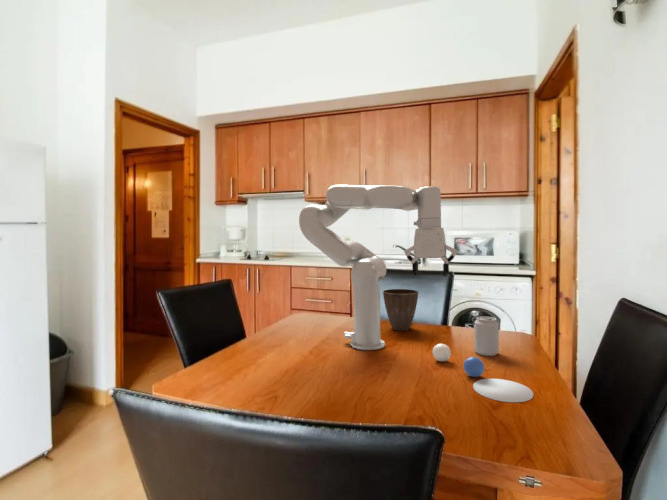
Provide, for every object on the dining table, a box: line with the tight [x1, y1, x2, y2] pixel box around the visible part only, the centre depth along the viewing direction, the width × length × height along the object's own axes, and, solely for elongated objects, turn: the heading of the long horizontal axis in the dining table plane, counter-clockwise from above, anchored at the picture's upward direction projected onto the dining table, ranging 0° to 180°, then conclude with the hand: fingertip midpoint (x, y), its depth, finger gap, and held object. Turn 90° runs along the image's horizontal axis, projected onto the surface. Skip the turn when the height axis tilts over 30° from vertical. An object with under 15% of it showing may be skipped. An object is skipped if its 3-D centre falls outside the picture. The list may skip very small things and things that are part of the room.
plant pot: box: [382, 288, 419, 331], centre depth 158 cm, size 15×15×16 cm
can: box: [474, 315, 500, 357], centre depth 124 cm, size 8×8×12 cm
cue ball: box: [432, 343, 451, 363], centre depth 117 cm, size 6×6×6 cm
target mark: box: [472, 378, 534, 403], centre depth 95 cm, size 14×14×1 cm
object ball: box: [463, 356, 485, 378], centre depth 104 cm, size 6×6×6 cm
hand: (430, 275), depth 124 cm, fingers open, 9 cm apart
